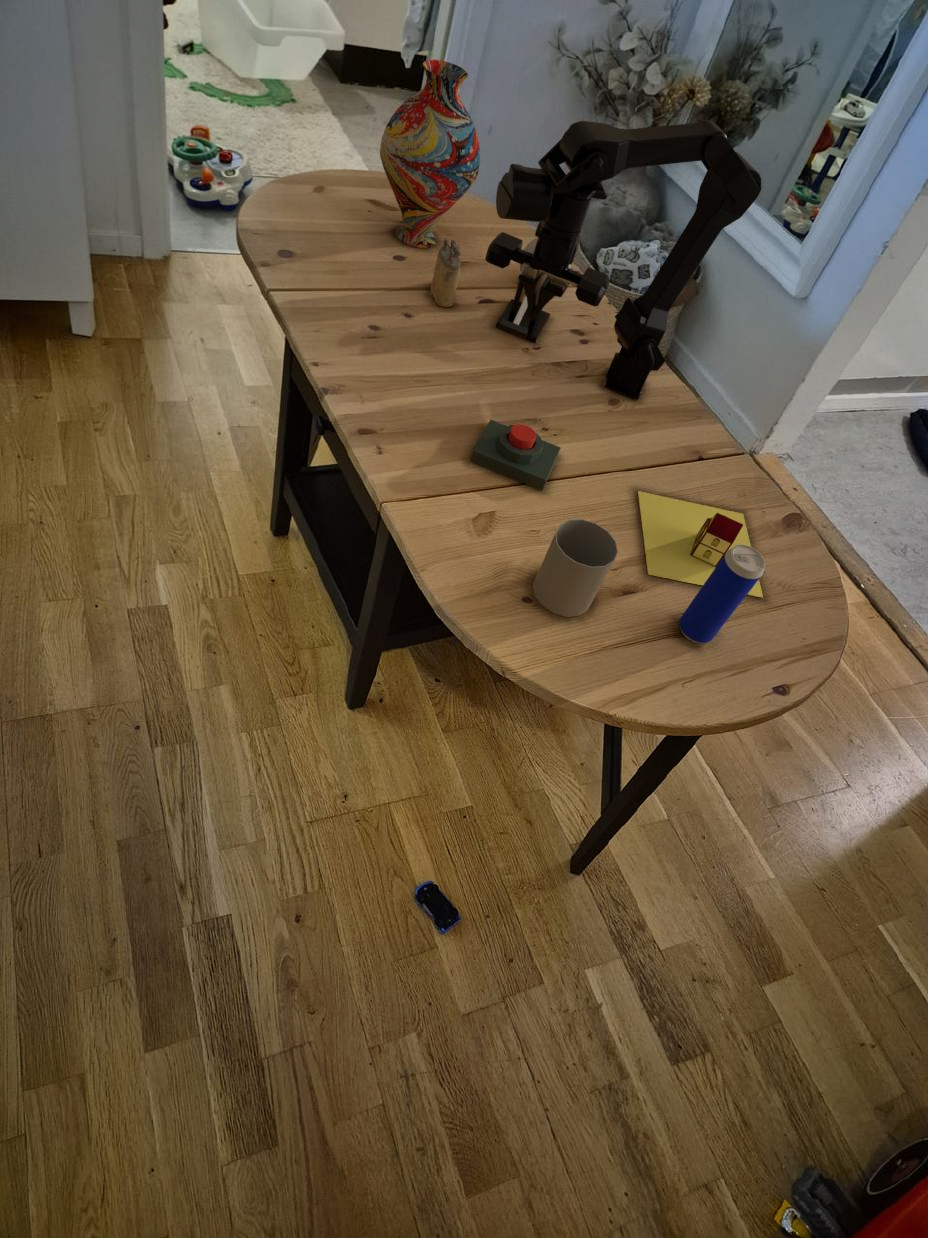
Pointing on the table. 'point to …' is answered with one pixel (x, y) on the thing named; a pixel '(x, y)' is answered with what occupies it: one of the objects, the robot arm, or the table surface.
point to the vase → (430, 152)
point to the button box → (515, 456)
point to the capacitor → (446, 274)
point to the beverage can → (722, 593)
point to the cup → (574, 567)
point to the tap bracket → (513, 308)
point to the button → (522, 437)
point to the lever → (516, 322)
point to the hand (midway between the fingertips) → (532, 318)
